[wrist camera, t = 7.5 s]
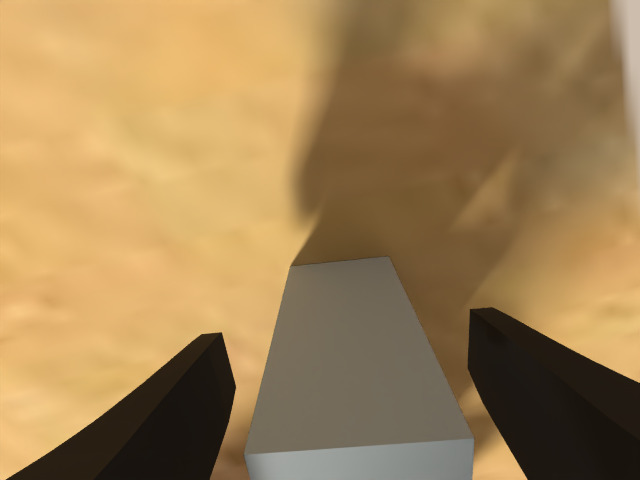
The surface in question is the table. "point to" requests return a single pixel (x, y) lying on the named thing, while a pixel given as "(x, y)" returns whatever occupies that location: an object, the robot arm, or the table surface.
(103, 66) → the table surface
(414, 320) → the domino
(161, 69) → the table surface
